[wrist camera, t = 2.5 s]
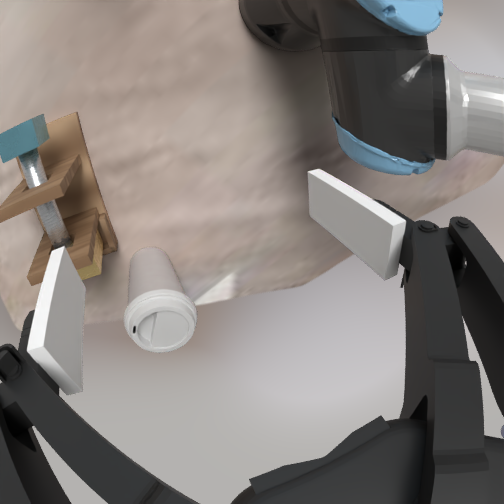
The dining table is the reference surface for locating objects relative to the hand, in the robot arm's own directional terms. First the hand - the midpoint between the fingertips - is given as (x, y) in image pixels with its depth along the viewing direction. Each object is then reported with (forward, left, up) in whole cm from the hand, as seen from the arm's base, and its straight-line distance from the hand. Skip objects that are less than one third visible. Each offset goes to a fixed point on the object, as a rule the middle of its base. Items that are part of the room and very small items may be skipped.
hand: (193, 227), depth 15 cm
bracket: (+4, -14, -29) cm, 32 cm away
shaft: (+2, -14, -22) cm, 26 cm away
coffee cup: (+20, -6, -29) cm, 35 cm away
